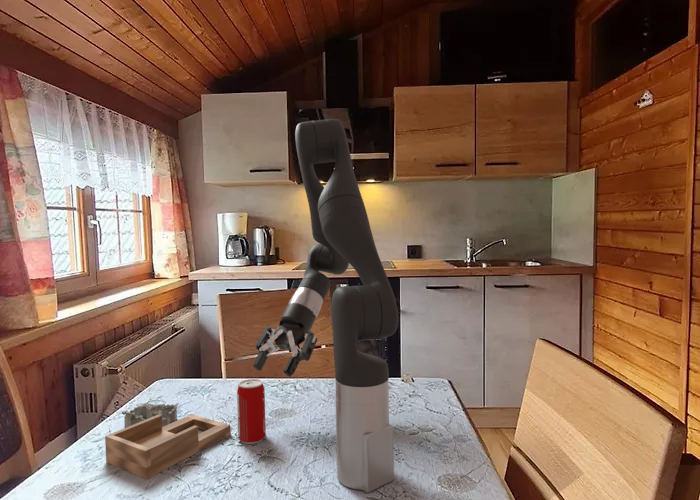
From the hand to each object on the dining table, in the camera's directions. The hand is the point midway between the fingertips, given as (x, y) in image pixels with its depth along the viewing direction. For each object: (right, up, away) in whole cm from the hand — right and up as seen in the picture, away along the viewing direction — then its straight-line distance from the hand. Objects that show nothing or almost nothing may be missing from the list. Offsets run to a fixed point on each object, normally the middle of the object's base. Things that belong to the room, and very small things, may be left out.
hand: (271, 371), depth 101 cm
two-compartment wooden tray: (-18, -13, -8) cm, 24 cm away
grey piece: (-28, -13, +4) cm, 31 cm away
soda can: (-3, -13, -5) cm, 14 cm away
